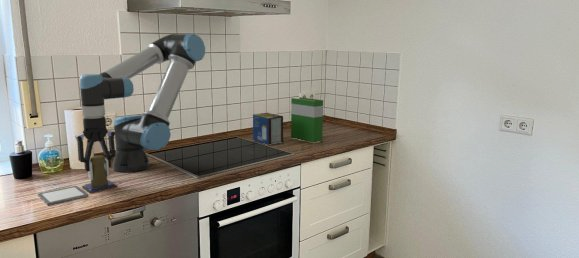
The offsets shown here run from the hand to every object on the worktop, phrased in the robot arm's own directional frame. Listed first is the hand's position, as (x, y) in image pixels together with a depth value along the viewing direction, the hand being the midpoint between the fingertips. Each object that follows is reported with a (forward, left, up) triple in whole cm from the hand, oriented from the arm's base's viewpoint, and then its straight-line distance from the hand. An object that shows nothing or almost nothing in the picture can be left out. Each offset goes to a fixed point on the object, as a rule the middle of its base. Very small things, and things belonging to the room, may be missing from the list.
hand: (99, 177), depth 158 cm
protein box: (-98, -16, -4) cm, 99 cm away
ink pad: (0, 0, -4) cm, 4 cm away
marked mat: (+13, 0, -4) cm, 14 cm away
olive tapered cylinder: (0, 0, -3) cm, 3 cm away
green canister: (-117, -4, -4) cm, 117 cm away
